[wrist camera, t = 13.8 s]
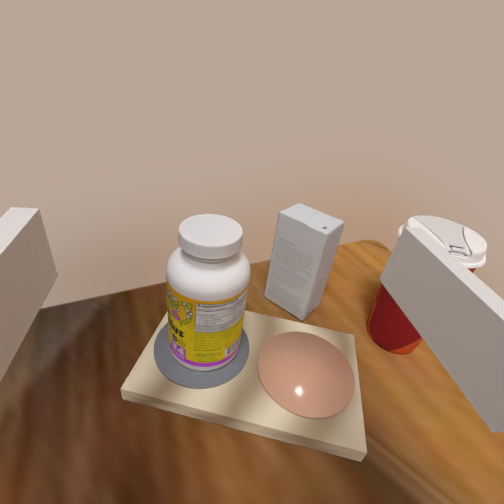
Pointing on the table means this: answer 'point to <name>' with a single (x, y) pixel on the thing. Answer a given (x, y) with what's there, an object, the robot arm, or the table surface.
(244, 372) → the birch board
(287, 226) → the skincare box
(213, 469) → the table surface
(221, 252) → the supplement bottle
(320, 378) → the terracotta pad
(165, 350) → the slate pad
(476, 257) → the paper cup
